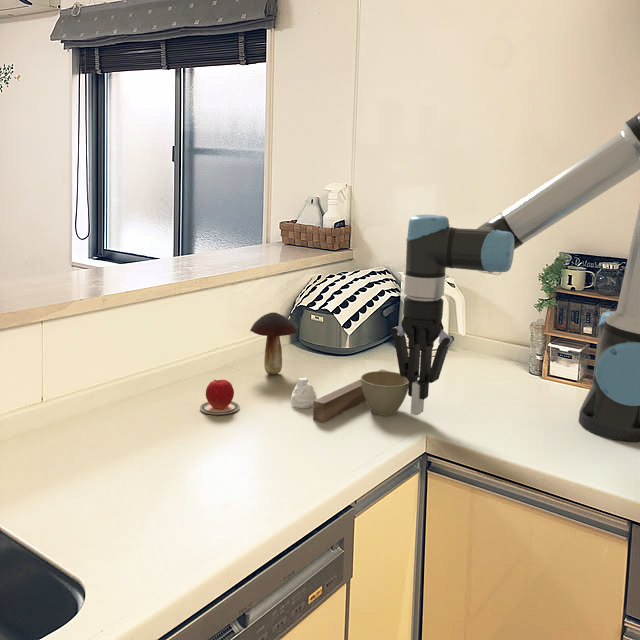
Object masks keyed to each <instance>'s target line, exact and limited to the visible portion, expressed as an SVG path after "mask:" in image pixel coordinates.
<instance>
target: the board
mask: <svg viewBox="0 0 640 640" xmlns="http://www.w3.org/2000/svg"><path fill="white" fill-rule="evenodd" d="M378 371H387V370H386V369H380V370H378ZM388 371H389V372H391V370H388ZM365 402H366V399H365V397H364V394H363V390H362V385H361V378H360V379H358V380H356V381H353V382H351V383H350V384H347V385H345V386H343V387H341V388H339V389H336V390H334V391H332V392H330V393H328V394H327V393H326V395H324V396H320V397H318V398H317V400H314V403H313V407H312V408H313V411H312V412H313V413H312V414H313V415H312V420H313V421H316V422H319V423H323V424H324V423H326V422H327V421H329V420H331V419H333V418H335V417H337V416H339V415H341V414H343V413H345V412H347V411H349V410H351V409H352V408H355V407H357V406H359V405H360V404H362V403H365Z"/></svg>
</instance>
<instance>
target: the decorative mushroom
mask: <svg viewBox="0 0 640 640" xmlns="http://www.w3.org/2000/svg"><path fill="white" fill-rule="evenodd" d="M249 332H252V333H254V334H256V335H258V336H259V335H260V336H264V337H265V336H266V341H265V348H264V356H263V357H264V359H263V360H264V364H263V365H264V371H265V372H266V373H267V374H268V375H272V376H275V375H278V374H279V373H280V372H281V371H282V368H283V350H282V344H281V337H285V336H289V335H294V334H296V333H297V332H298V329H297V327H296V325H295V323H294V322H293V321H292V320H291V319H289V318H288V317H286V316H285V315H282V314H280V313H278V312H268V313H266V314H263V315H262V316H260V318H258V319H256V321H255V322H254V323H253V325H252V326H251V328H250V330H249Z"/></svg>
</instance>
